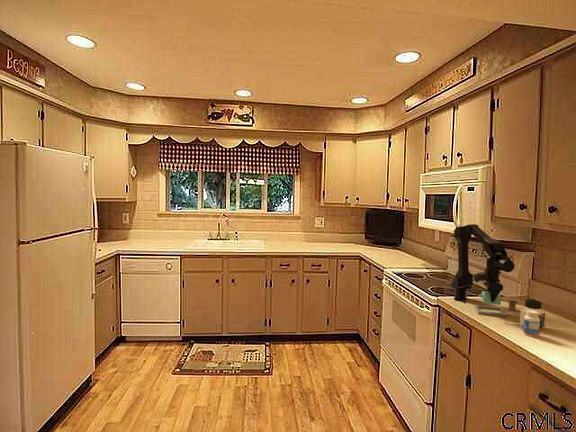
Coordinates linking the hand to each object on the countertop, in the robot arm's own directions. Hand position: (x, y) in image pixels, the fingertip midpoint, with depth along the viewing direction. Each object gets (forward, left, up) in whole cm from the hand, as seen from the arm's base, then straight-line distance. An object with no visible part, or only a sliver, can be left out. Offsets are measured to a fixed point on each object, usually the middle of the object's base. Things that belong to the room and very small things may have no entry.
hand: (490, 300), depth 179 cm
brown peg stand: (-9, +11, -7) cm, 16 cm away
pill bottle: (+24, +11, -7) cm, 27 cm away
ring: (0, 0, -1) cm, 1 cm away
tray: (0, 0, -7) cm, 7 cm away
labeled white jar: (+13, +14, -7) cm, 20 cm away
